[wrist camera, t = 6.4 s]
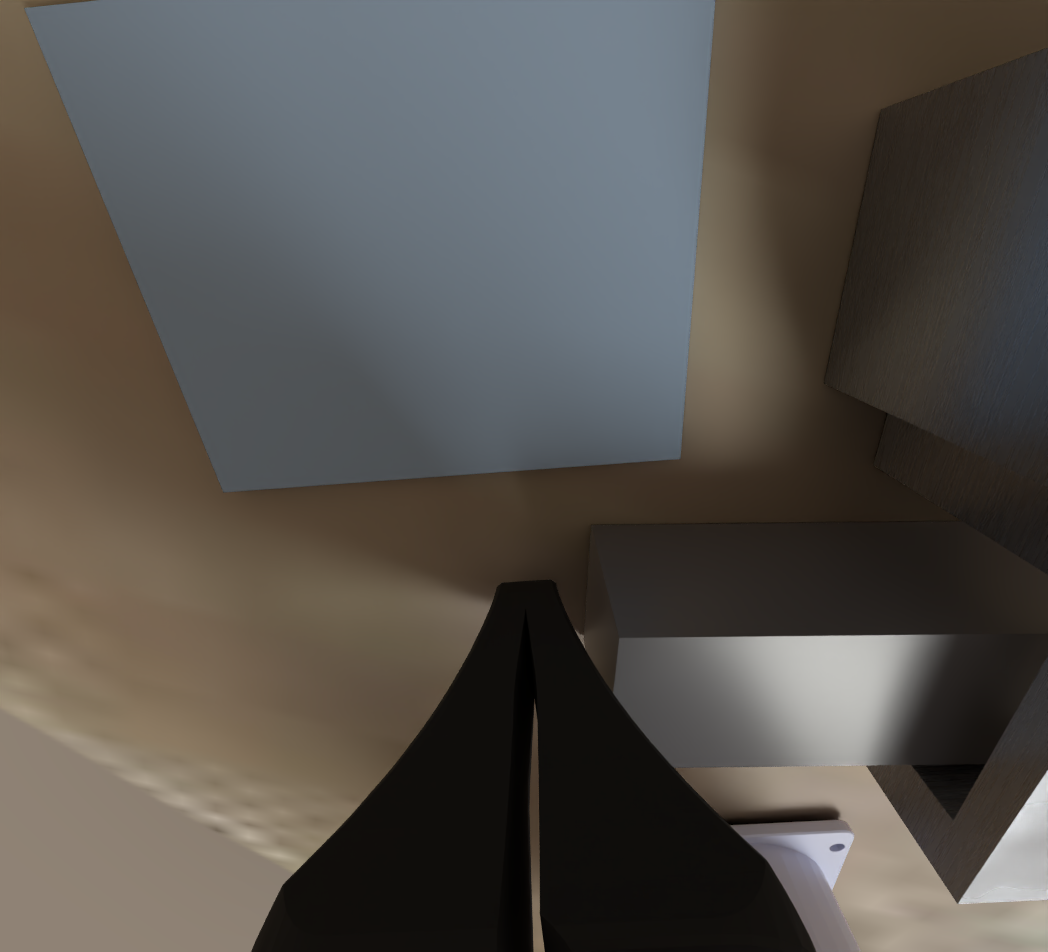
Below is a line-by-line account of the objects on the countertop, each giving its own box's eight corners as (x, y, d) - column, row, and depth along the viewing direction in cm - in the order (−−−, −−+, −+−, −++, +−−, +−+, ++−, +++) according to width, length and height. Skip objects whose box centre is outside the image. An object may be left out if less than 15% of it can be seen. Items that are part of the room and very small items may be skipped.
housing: (934, 677, 14) (1175, 929, 9) (760, 687, 14) (897, 941, 9) (1196, 80, 8) (2519, -240, 3) (881, 110, 8) (1546, -137, 3)
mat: (674, 451, 10) (680, 458, 10) (233, 483, 11) (223, 492, 10) (709, -50, 7) (720, -65, 7) (48, 19, 7) (24, 8, 7)
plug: (1129, 631, 13) (1332, 760, 10) (583, 636, 13) (605, 768, 10) (1213, 518, 11) (1491, 628, 8) (591, 524, 11) (619, 637, 8)
